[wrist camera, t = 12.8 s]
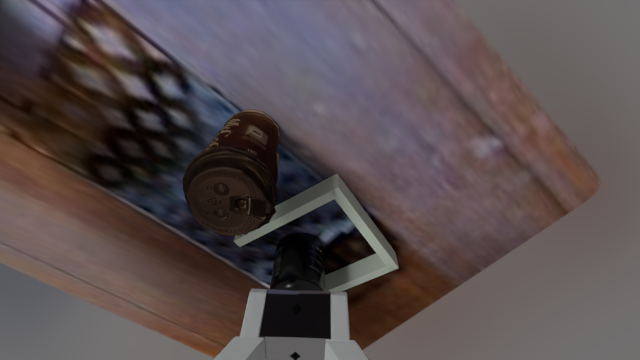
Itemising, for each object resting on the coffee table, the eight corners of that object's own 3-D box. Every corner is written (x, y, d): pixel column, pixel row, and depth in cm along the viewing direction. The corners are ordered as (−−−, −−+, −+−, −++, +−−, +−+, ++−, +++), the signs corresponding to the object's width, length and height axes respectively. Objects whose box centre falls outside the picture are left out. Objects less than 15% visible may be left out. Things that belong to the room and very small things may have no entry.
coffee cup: (306, 140, 41) (299, 212, 30) (257, 180, 44) (234, 258, 33) (250, 84, 37) (219, 141, 26) (200, 131, 40) (154, 200, 29)
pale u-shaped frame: (304, 290, 55) (302, 307, 52) (238, 225, 48) (233, 241, 45) (395, 252, 50) (398, 268, 48) (337, 173, 43) (338, 187, 40)
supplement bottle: (294, 271, 53) (286, 348, 43) (266, 242, 50) (251, 318, 40) (334, 254, 51) (336, 330, 41) (307, 223, 47) (302, 297, 37)
